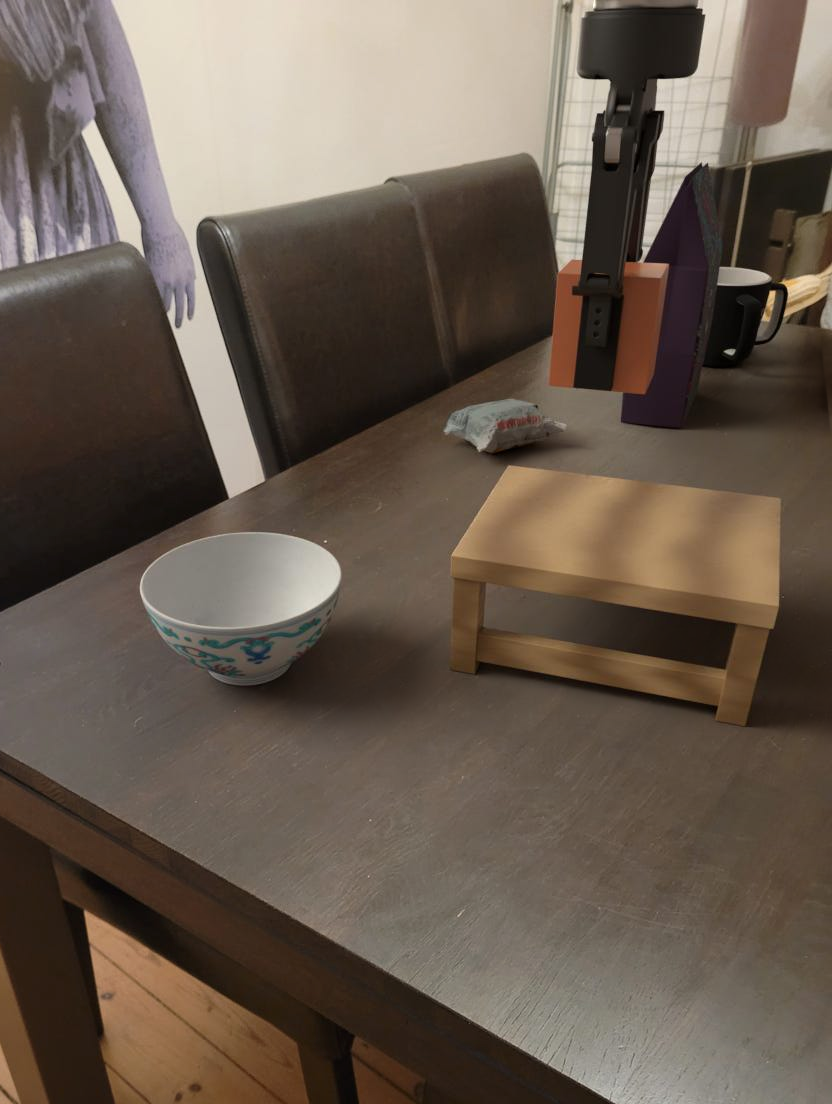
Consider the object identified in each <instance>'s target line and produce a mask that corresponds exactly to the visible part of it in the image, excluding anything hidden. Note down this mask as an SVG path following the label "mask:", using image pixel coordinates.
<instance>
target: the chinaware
mask: <svg viewBox="0 0 832 1104" xmlns="http://www.w3.org/2000/svg"><path fill="white" fill-rule="evenodd" d="M342 578H343V573H342V569H341V565H340V563H339V561H338V560H337V558H336V557H335V556H334V555H333V554H332V553H331V552H330V551H328V550H327V549H325V548H324V547H323V546H321V545H319V544H317V543H315V542H312V541H310V540H307V539H305V538H302V537H297V536H293V535H289V534H285V533H284V534H282V533H275V532H264V531H259V532H258V531H248V532H247V531H245V532H232V533H224V534H223V533H222V534H217V535H212V536H207V537H203V538H200V539H196V540H192V541H190V542H186V543H184V544H182V545H180V546H177V547H175V548H172V549H171V550H169V551H167V552H166V553H164V554H162V555H161V556H160V557H158V558H156V559H155V560H154V561H153V562H152V563H151V564H150V565H149V566H148V567H147V568H146V570H145V571H144V573H143V574H142V576H141V578H140V583H139V593H140V596H141V601H142V603H143V606H144V608H145V610H146V613H147V615H148V617H149V619H150V621H151V623H152V624H153V626H154V628H155V629H156V631H157V632H158V634H159V635H160V636H161V638H162V639H163V640H164V642H165V643H166V644H167V645H168V646H169V647H170V648H171V649H172V650H173V651H174V652H175V653H177V654H178V655H179V656H180V657H182V658H183V659H185V660H186V661H188V662H189V663H191V664H192V665H194V666H196V667H197V668H201V669H202V670H205V671H208V673H209V674H210V675H211V677H213V679H216V680H218V681H219V682H221V683H224V684H228V685H233V686H257V685H260V684H261V685H262V684H265V683H268V682H271V681H273V680H275V679H277V678H280V676H282V675H284V673H286V672H287V671H288V670H289V668H290V666H291V664H292V663H293V662H295V661H297V660H298V659H300V658H301V657H302V656H303V655H304V654H306V653H307V652H308V651H309V650H311V648H312V647H313V646H314V645H315V644H316V643H317V641H318V640H319V639H320V638H321V637H322V635H323V634H324V632H325V630H326V629H327V627H328V625H329V624H330V621H331V620H332V617H333V615H334V612H335V609H336V606H337V604H338V600H339V596H340V593H341V586H342V581H343V579H342Z"/></svg>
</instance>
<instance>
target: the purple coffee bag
mask: <svg viewBox="0 0 832 1104" xmlns="http://www.w3.org/2000/svg"><path fill="white" fill-rule="evenodd" d="M722 252H723V241H722V235H721V229H720V224H719V218H718V213H717V207H716V201H715V195H714V189H713V184H712V178H711V173H710V166H709V162H706V163H705V164H704V165H703V162H700V163H699V164H697V166H695V167H694V168H693V169H692V170H691V171H690V172H688V173H687V175H685V176H684V178H683V181H682V182H681V184H680V187H678V190H677V193H676V195H675V196H674V198H673V200H672V203H671V204H670V207H669V209H668V211H667V213H666V215H665V217H664V219H663V221H662V223H661V225H660V227H659V229H658V230H657V233H656V235H655V237H654V239H653V241H652V243H651V245H650V248H649V250H648V251H647V254H646V255H645V257H644V259H643V261H642V263H661V264H669V270H668V277H667V284H666V292H665V299H664V306H663V313H662V320H661V327H660V334H659V341H658V348H657V355H656V362H655V370H654V375H653V377H652V380H651V382H650V384H649V386H648V389H647V391H646V393H645V394H635V393H624V392H622V399H621V412H620V422H621V423H627V424H636V425H645V426H650V427H651V426H654V427H658V428H659V427H661V428H669V429H677V430H681V429H682V428H683V425H684V424H685V421H686V418H687V417H688V413H689V411H690V409H691V407H692V404H693V402H694V399H695V397H696V395H697V392H698V390H699V389H698V388H699V384H700V381H701V380H700V379H701V375H702V371H703V367H704V365H703V362H704V357H705V352H706V348H707V343H708V339H709V334H710V329H711V325H712V319H713V311H714V304H715V297H716V289H717V282H718V275H719V268H720V267H721V259H722V254H723V253H722Z"/></svg>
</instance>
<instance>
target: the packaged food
mask: <svg viewBox="0 0 832 1104" xmlns="http://www.w3.org/2000/svg"><path fill="white" fill-rule="evenodd" d="M566 429H567V424H565V423H563V422H559V421H556V420H553V419H551V417H549V416H548V415H546V414H545V413H544V412H543V411H541V410H540V409H539V405H538V404H536V403H532V402H528V401H524V400H520V399H516V398H505V399H501V400H495V401H488V402H483V403H479V404H473V405H468V406H466V407H464V408H461V409H458V410H456V411H454V412H453V413H451V414H450V416H449V418H448V419H447V420H446V421H445V426H444V427H443V434H444V435H450V434H452V435H454V436H455V437H456V438H459V439H462V440H463V441H465V442H467V443H468V444H470V445H472V446H473V447H475V448H476V450H477V452H478V453H481V452H487V453H490V454H494V453H498V452H503V451H506V450H509V449H510V450H511V449H515V448H522V447H525V446H528V445H531V444H534V443H538V442H542V441H546V440H548V439H551V437H553V436H556V435H558V434H560V433H563V432H564V431H566Z"/></svg>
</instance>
